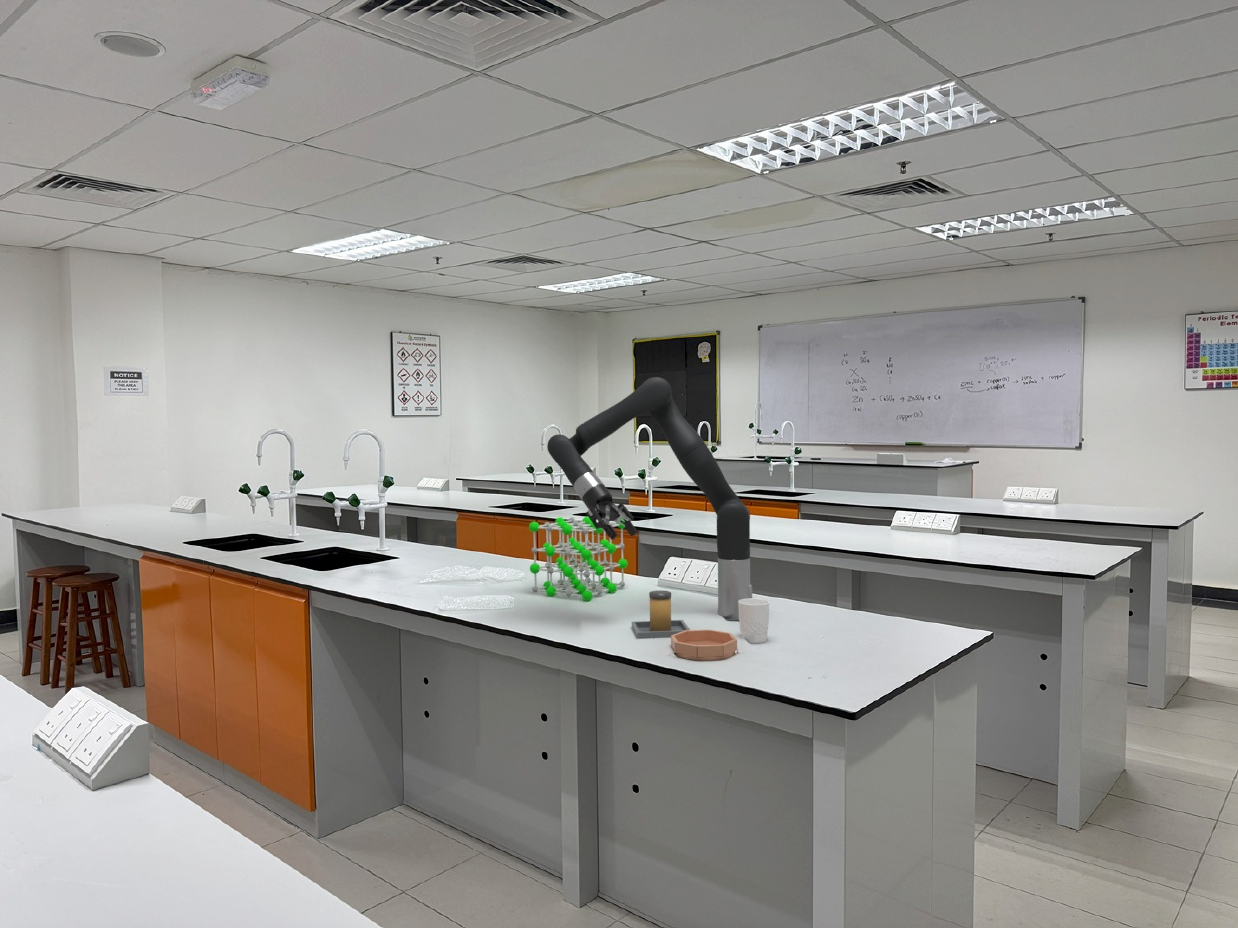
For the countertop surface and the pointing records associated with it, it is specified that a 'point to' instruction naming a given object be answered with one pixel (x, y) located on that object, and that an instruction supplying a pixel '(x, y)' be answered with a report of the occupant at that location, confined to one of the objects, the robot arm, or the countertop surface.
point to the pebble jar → (660, 610)
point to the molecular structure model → (576, 550)
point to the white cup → (754, 619)
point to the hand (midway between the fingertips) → (625, 535)
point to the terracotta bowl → (703, 645)
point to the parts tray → (644, 632)
